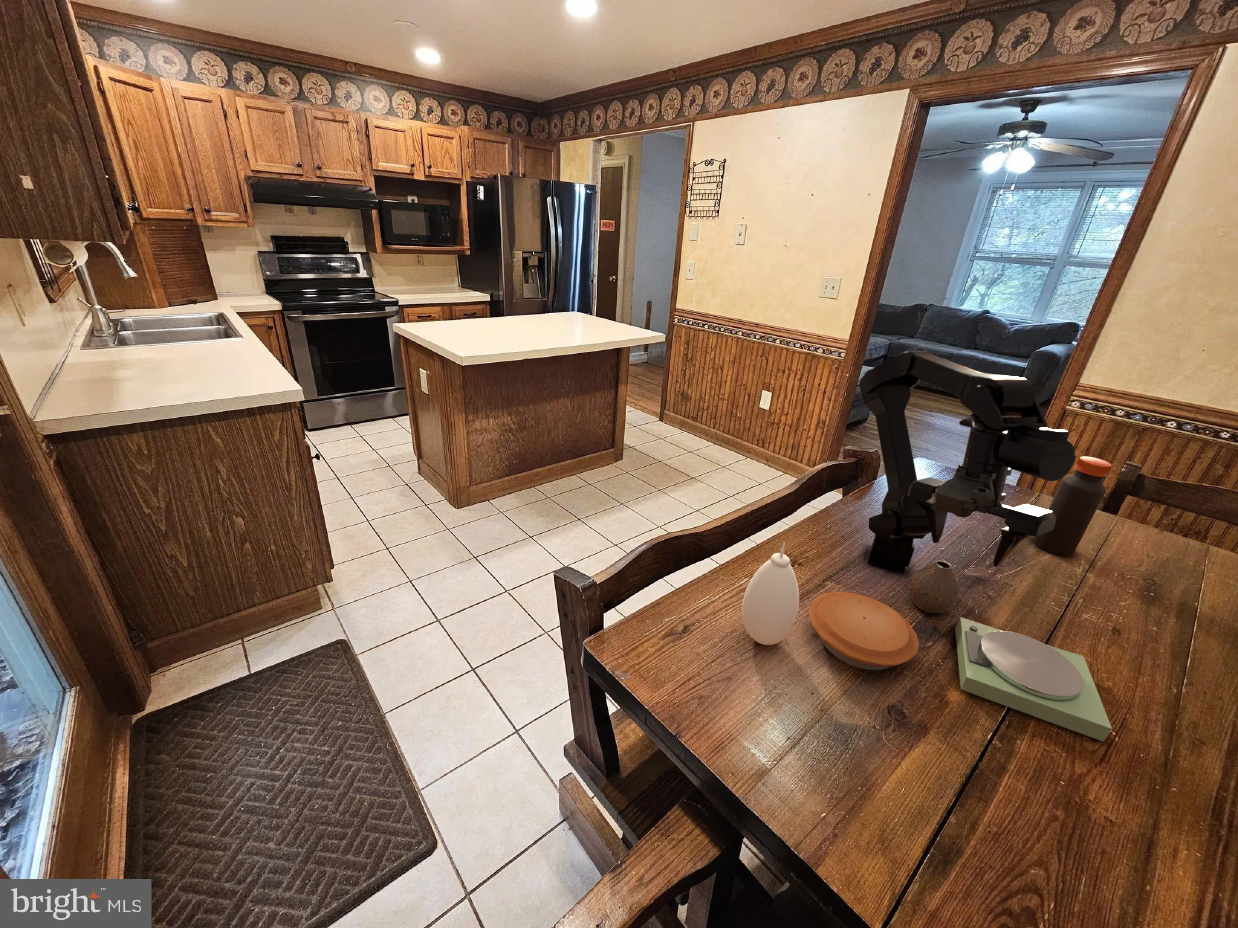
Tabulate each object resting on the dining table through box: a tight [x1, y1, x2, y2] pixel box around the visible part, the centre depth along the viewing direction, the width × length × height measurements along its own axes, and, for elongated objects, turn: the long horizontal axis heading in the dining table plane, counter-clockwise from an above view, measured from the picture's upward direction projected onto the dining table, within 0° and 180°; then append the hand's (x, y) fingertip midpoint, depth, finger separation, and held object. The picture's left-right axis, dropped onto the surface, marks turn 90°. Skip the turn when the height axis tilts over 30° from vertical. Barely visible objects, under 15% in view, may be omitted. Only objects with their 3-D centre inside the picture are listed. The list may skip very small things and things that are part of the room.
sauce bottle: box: [741, 541, 800, 646], centre depth 76 cm, size 8×8×18 cm
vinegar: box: [1033, 456, 1113, 557], centre depth 104 cm, size 7×7×20 cm
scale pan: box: [979, 630, 1083, 700], centre depth 74 cm, size 12×12×1 cm
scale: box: [954, 616, 1113, 742], centre depth 74 cm, size 16×14×3 cm
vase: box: [909, 559, 959, 615], centre depth 87 cm, size 7×7×9 cm
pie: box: [808, 591, 920, 671], centre depth 79 cm, size 15×16×5 cm
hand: (964, 553), depth 82 cm, fingers open, 9 cm apart
